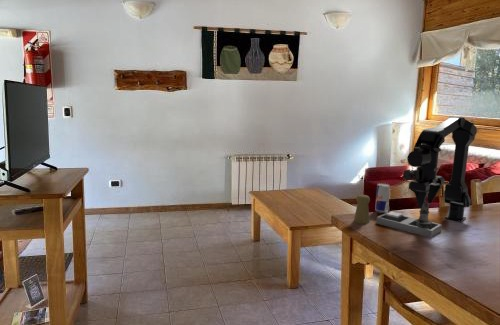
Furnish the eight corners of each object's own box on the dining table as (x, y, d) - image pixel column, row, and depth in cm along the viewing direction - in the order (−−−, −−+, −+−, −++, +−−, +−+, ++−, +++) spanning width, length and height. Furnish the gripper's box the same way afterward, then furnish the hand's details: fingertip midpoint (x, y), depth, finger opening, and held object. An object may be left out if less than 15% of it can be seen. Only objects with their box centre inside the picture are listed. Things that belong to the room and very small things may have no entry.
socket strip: (387, 218, 171) (388, 212, 170) (441, 231, 156) (441, 224, 156) (376, 223, 164) (376, 217, 163) (430, 237, 149) (431, 230, 149)
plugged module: (390, 220, 167) (391, 211, 166) (402, 223, 164) (403, 213, 163) (384, 223, 164) (385, 213, 163) (397, 226, 160) (397, 216, 160)
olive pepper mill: (372, 223, 164) (374, 196, 162) (359, 224, 162) (361, 197, 160) (363, 218, 170) (364, 192, 168) (350, 220, 168) (352, 194, 166)
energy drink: (372, 210, 181) (374, 183, 179) (382, 209, 183) (384, 183, 181) (380, 214, 177) (382, 186, 174) (390, 212, 178) (392, 185, 176)
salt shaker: (429, 228, 158) (432, 198, 156) (432, 233, 153) (435, 202, 150) (412, 227, 159) (415, 197, 157) (415, 232, 154) (418, 201, 152)
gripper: (417, 158, 163) (413, 196, 166) (396, 164, 150) (392, 205, 153) (446, 162, 156) (442, 202, 158) (427, 168, 142) (423, 212, 145)
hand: (424, 205), depth 154 cm, fingers open, 9 cm apart
